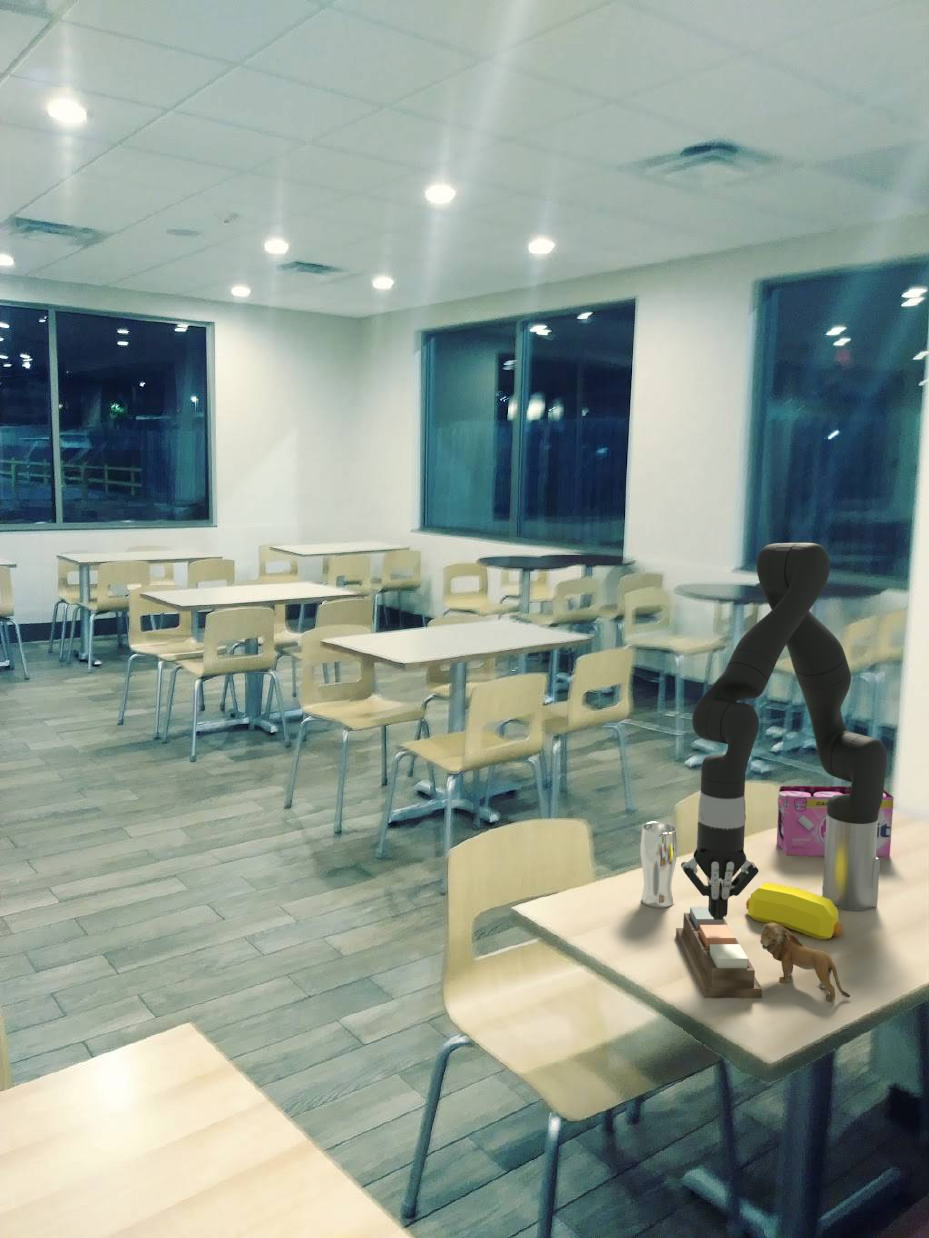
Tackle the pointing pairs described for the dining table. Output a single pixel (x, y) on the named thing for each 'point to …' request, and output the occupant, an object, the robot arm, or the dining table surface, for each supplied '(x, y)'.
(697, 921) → the slate button
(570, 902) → the dining table surface
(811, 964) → the lion figurine
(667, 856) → the beer glass
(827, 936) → the ripe banana
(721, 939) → the terracotta button
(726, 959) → the ivory button
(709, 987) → the button board
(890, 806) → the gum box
